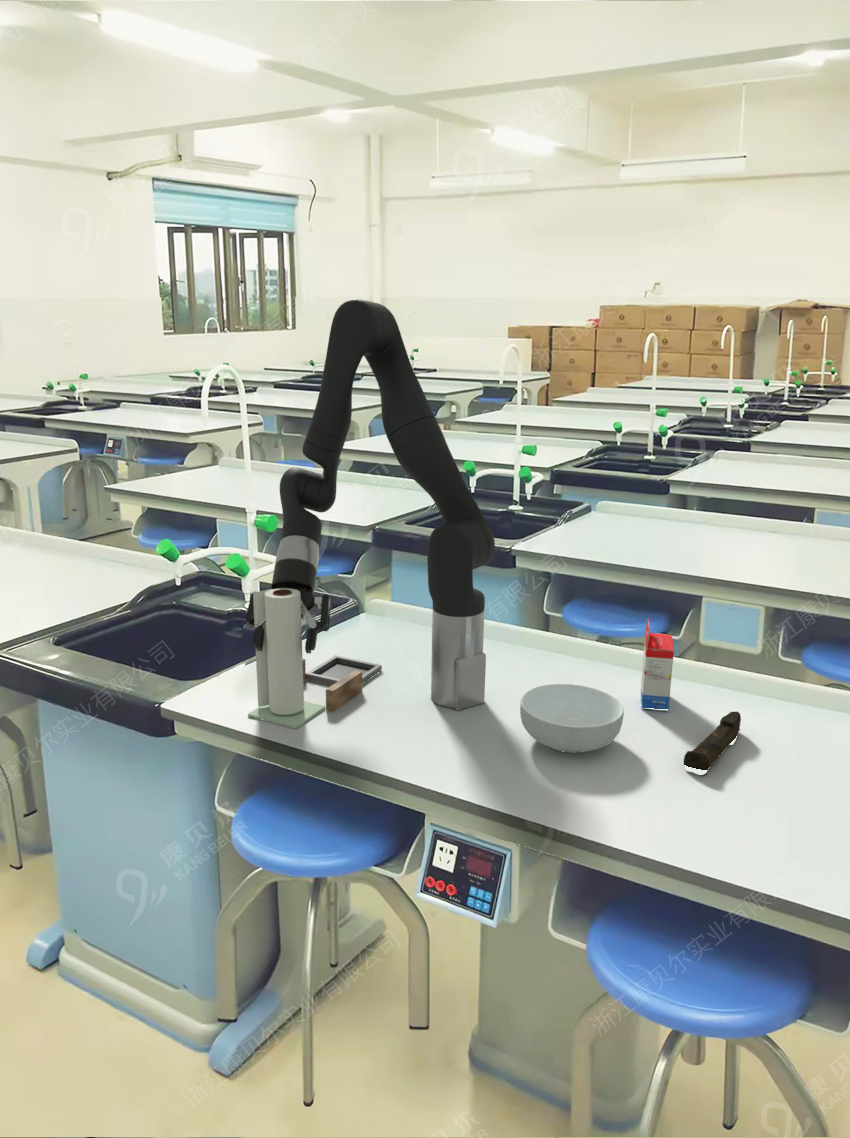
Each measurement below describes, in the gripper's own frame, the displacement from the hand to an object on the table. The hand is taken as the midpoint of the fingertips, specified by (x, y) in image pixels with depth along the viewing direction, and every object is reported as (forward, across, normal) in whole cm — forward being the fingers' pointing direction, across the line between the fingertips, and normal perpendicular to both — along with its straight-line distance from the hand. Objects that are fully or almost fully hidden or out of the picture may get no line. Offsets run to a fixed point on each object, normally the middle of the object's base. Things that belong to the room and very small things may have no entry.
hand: (283, 650), depth 157 cm
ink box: (-1, +65, +18) cm, 68 cm away
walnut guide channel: (+2, +3, +16) cm, 16 cm away
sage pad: (+8, 0, +10) cm, 12 cm away
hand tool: (+12, +72, +5) cm, 73 cm away
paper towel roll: (+7, 0, +10) cm, 12 cm away
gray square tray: (-5, +7, +22) cm, 24 cm away
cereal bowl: (+12, +49, +6) cm, 50 cm away
